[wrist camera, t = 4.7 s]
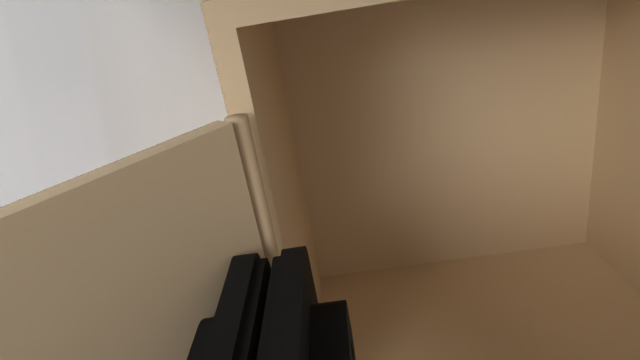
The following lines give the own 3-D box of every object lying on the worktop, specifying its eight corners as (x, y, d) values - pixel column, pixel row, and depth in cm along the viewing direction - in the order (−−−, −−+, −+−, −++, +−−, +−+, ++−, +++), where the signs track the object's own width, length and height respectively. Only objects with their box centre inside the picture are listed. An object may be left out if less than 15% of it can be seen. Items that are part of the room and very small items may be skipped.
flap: (252, 114, 10) (-156, 283, 6) (315, 398, 13) (91, 633, 9) (237, 112, 10) (-158, 270, 6) (303, 389, 14) (81, 613, 9)
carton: (639, -96, 16) (916, -151, 8) (602, 243, 21) (752, 385, 14) (247, -28, 17) (193, -25, 9) (310, 281, 22) (307, 436, 15)
